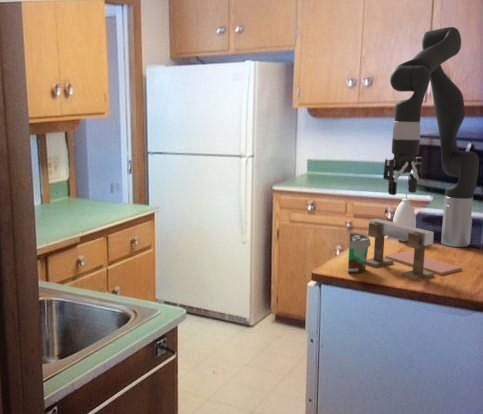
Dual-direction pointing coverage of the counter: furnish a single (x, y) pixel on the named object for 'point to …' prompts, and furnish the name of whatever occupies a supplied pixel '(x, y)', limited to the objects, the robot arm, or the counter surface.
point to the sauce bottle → (405, 214)
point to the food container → (358, 253)
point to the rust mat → (425, 263)
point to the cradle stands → (381, 261)
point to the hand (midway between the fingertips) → (402, 193)
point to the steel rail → (403, 231)
